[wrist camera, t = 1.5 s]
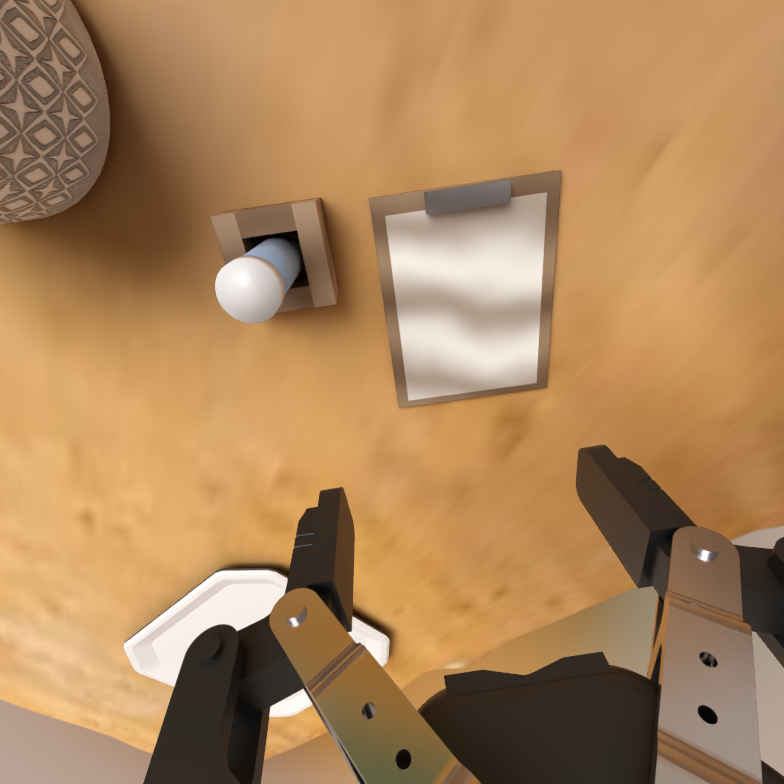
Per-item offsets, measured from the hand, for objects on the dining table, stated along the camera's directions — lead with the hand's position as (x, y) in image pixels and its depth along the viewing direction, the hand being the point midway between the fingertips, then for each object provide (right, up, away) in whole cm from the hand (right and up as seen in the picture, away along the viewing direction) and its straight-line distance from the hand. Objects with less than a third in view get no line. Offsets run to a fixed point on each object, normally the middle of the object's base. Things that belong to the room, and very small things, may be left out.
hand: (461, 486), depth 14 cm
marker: (-11, +14, +17) cm, 25 cm away
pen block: (-11, +14, +17) cm, 25 cm away
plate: (-20, -31, +43) cm, 57 cm away
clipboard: (+4, +11, +20) cm, 23 cm away
